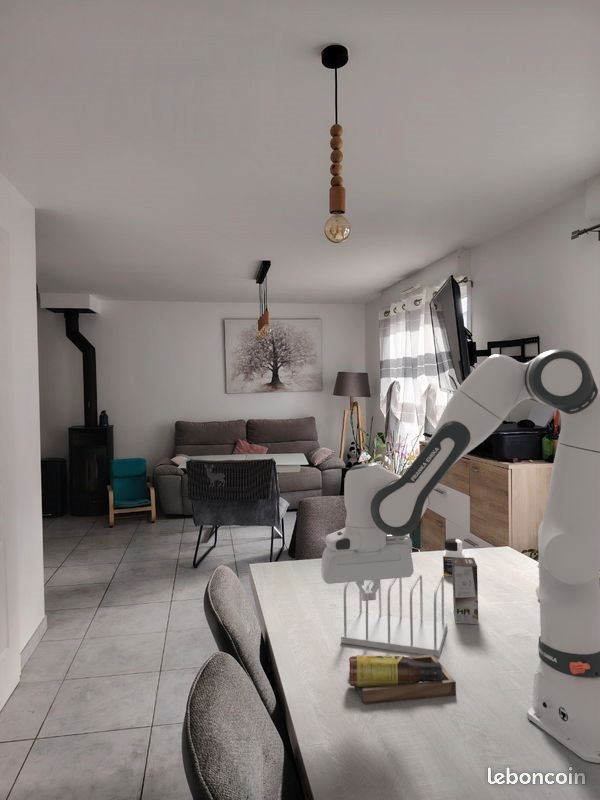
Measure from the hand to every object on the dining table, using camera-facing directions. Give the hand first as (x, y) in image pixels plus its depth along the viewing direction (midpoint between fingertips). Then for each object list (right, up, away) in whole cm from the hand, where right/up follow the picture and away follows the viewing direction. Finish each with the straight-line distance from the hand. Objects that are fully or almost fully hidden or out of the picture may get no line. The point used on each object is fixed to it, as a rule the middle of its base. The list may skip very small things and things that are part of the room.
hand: (368, 599), depth 124 cm
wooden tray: (+7, -19, +1) cm, 20 cm away
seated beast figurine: (+61, -18, +48) cm, 79 cm away
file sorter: (+10, -19, +26) cm, 34 cm away
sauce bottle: (-5, -15, -1) cm, 16 cm away
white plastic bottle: (+40, -18, +77) cm, 89 cm away
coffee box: (+32, -18, +37) cm, 52 cm away
